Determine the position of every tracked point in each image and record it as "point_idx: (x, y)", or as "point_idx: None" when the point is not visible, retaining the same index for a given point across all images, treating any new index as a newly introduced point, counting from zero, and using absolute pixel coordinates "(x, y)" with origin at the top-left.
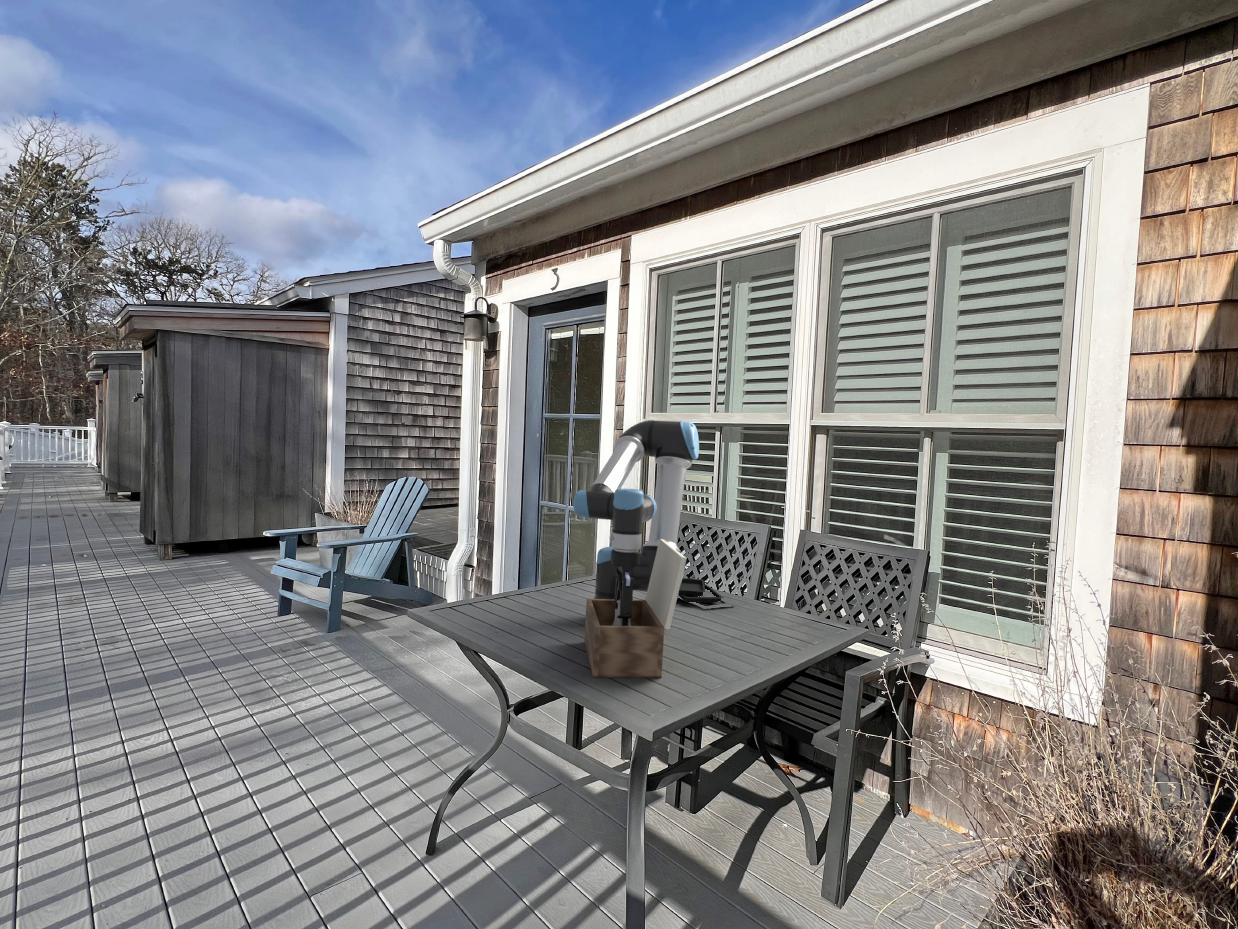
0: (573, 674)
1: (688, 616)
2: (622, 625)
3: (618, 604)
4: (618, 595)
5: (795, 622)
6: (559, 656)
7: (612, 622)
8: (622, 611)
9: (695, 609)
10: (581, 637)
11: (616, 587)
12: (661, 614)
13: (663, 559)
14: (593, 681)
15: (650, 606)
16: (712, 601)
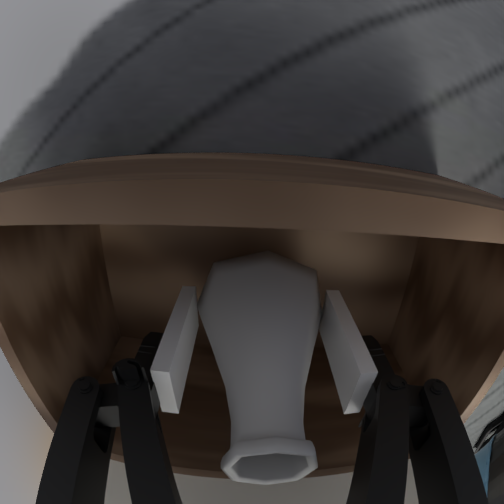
0: (108, 96)
1: (481, 412)
2: (138, 353)
3: (263, 433)
4: (370, 467)
5: None
6: (294, 50)
7: (447, 300)
8: (64, 405)
9: (496, 415)
10: (474, 177)
11: (451, 479)
12: (127, 488)
13: None
14: (61, 161)
15: (348, 475)
16: (493, 435)
